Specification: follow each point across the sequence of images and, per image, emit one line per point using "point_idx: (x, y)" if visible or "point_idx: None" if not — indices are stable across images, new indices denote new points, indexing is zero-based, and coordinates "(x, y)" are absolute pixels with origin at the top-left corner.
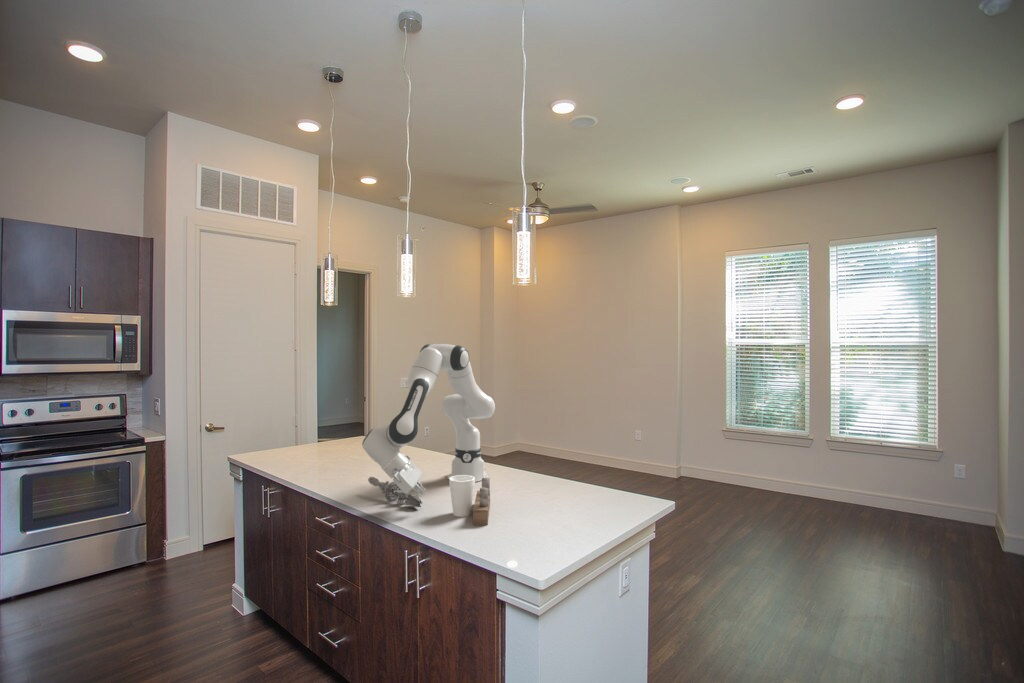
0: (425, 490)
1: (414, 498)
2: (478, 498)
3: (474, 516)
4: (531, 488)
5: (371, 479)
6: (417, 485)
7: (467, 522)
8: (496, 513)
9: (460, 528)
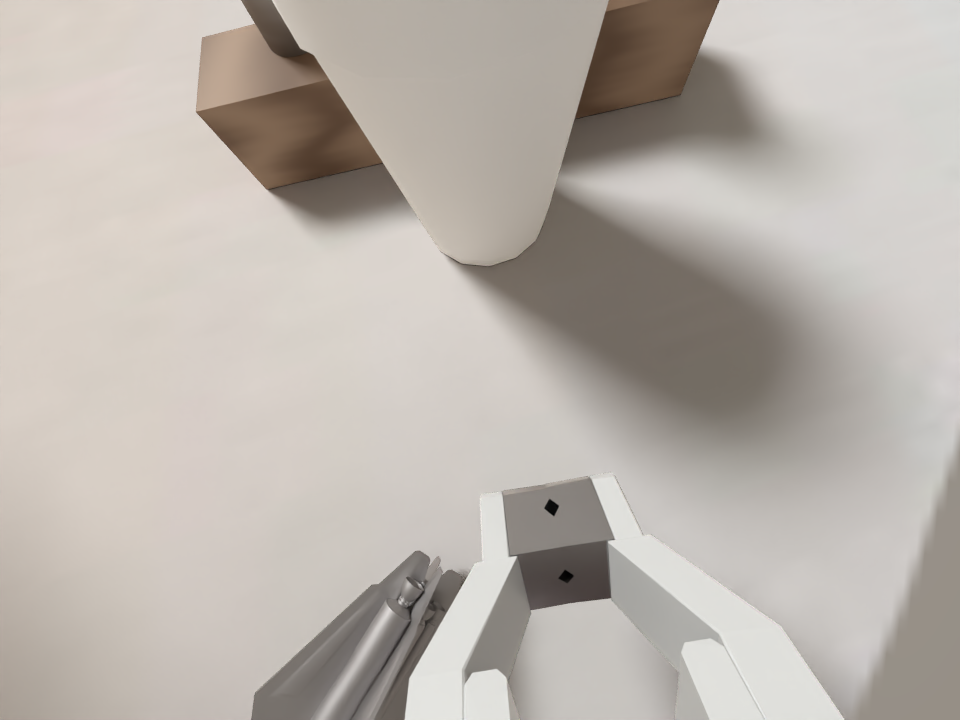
0: (501, 492)
1: (388, 684)
2: None
3: (701, 29)
4: (14, 24)
5: None
6: (778, 661)
7: (642, 135)
8: None
9: (767, 138)
